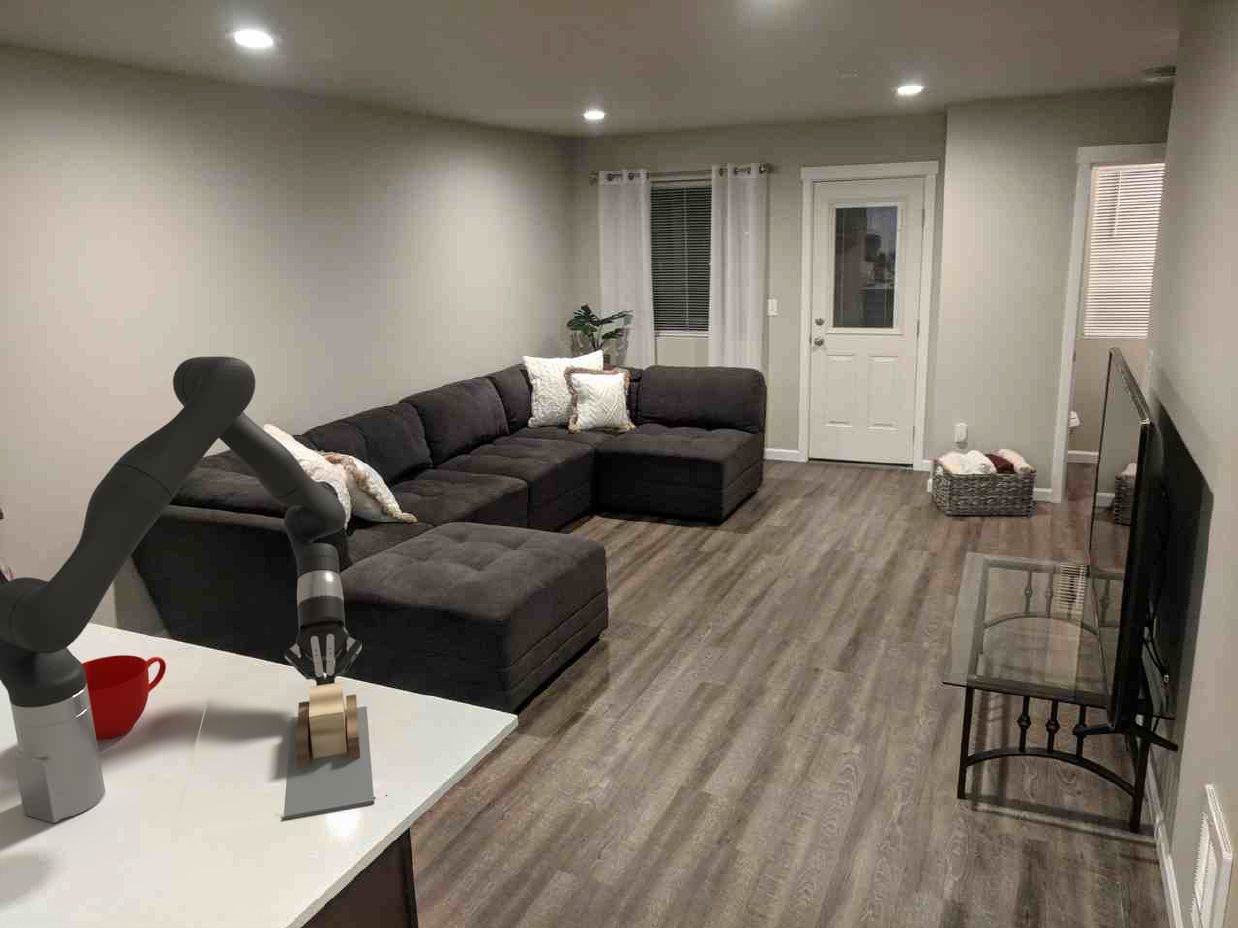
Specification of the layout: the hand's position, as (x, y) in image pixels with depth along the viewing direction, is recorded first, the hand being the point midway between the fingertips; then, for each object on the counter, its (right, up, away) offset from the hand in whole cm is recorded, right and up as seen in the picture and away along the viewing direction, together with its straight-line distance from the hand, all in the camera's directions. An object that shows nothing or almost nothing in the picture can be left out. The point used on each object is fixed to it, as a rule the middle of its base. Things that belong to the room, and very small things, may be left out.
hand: (326, 700), depth 152 cm
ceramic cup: (-34, -4, +2) cm, 35 cm away
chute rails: (+2, -5, -4) cm, 7 cm away
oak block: (+2, -5, -4) cm, 7 cm away
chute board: (+3, -7, -9) cm, 11 cm away
